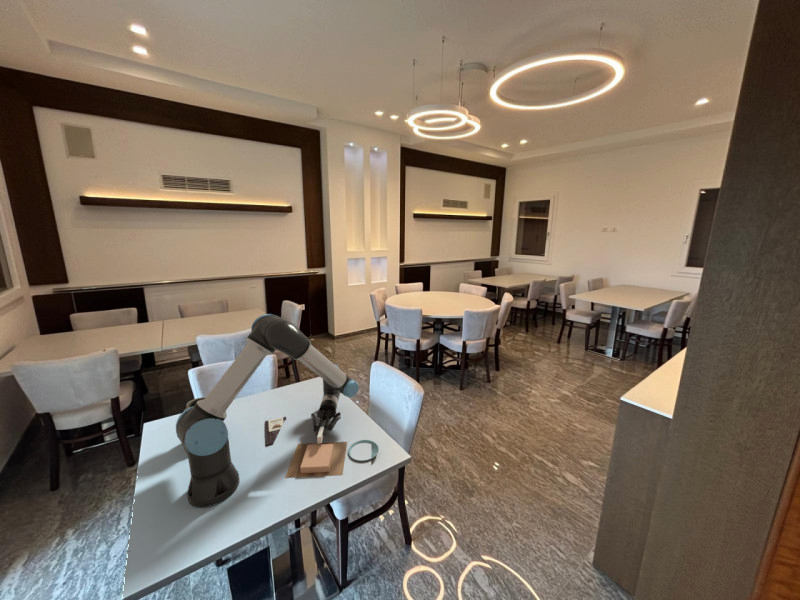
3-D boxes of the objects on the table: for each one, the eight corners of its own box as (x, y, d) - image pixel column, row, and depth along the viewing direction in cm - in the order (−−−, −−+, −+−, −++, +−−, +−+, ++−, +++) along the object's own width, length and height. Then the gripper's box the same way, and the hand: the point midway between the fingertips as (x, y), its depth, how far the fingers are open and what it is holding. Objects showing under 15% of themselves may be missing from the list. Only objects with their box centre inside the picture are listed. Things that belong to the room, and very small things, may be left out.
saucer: (356, 470, 115) (356, 464, 115) (343, 451, 125) (343, 446, 124) (384, 457, 121) (383, 452, 121) (370, 441, 131) (370, 436, 131)
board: (285, 480, 110) (285, 477, 109) (298, 446, 127) (297, 443, 127) (342, 477, 111) (342, 474, 111) (347, 444, 129) (347, 441, 128)
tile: (308, 450, 123) (300, 473, 111) (307, 444, 123) (300, 467, 111) (333, 449, 124) (329, 472, 112) (333, 443, 123) (328, 466, 112)
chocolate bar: (266, 445, 127) (265, 421, 143) (266, 447, 127) (265, 422, 143) (289, 439, 131) (285, 416, 147) (289, 441, 131) (286, 418, 147)
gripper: (343, 413, 144) (336, 447, 121) (314, 414, 143) (302, 449, 120) (342, 398, 142) (336, 430, 119) (313, 399, 141) (301, 432, 118)
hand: (319, 440), depth 120 cm, fingers closed
